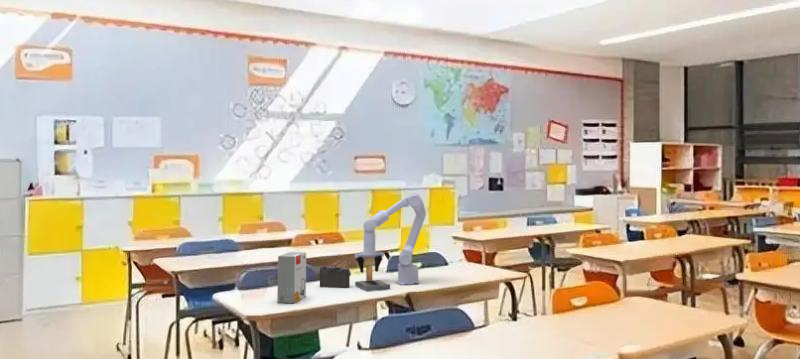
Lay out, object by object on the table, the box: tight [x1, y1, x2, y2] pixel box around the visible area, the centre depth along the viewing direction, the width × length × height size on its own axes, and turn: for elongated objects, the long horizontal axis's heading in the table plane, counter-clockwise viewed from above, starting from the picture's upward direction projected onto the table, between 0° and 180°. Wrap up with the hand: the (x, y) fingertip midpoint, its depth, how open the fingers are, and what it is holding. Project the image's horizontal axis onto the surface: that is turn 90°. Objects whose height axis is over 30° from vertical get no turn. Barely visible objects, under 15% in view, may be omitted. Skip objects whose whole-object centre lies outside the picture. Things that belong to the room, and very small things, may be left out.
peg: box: [365, 265, 373, 281], centre depth 336 cm, size 3×3×8 cm
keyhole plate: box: [354, 279, 391, 292], centre depth 324 cm, size 12×14×2 cm
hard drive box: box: [276, 251, 307, 304], centre depth 296 cm, size 16×8×20 cm, turn 168°
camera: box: [319, 265, 351, 289], centre depth 329 cm, size 14×11×10 cm
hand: (369, 271), depth 336 cm, fingers open, 7 cm apart
